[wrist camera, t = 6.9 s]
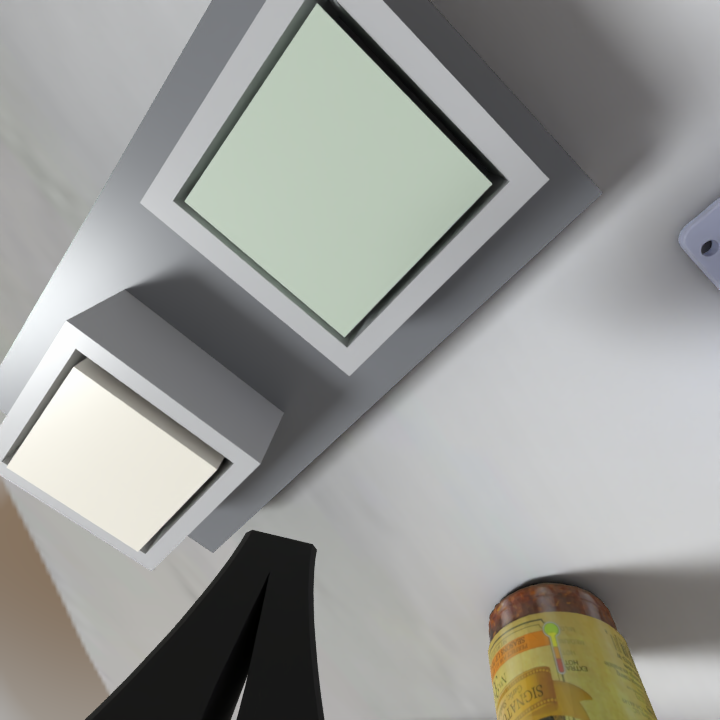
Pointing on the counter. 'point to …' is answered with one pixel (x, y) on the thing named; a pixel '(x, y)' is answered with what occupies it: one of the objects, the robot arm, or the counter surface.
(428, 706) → the counter surface
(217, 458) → the cream key
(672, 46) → the counter surface
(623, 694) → the sauce bottle
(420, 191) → the sage key
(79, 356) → the key console
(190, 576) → the counter surface
